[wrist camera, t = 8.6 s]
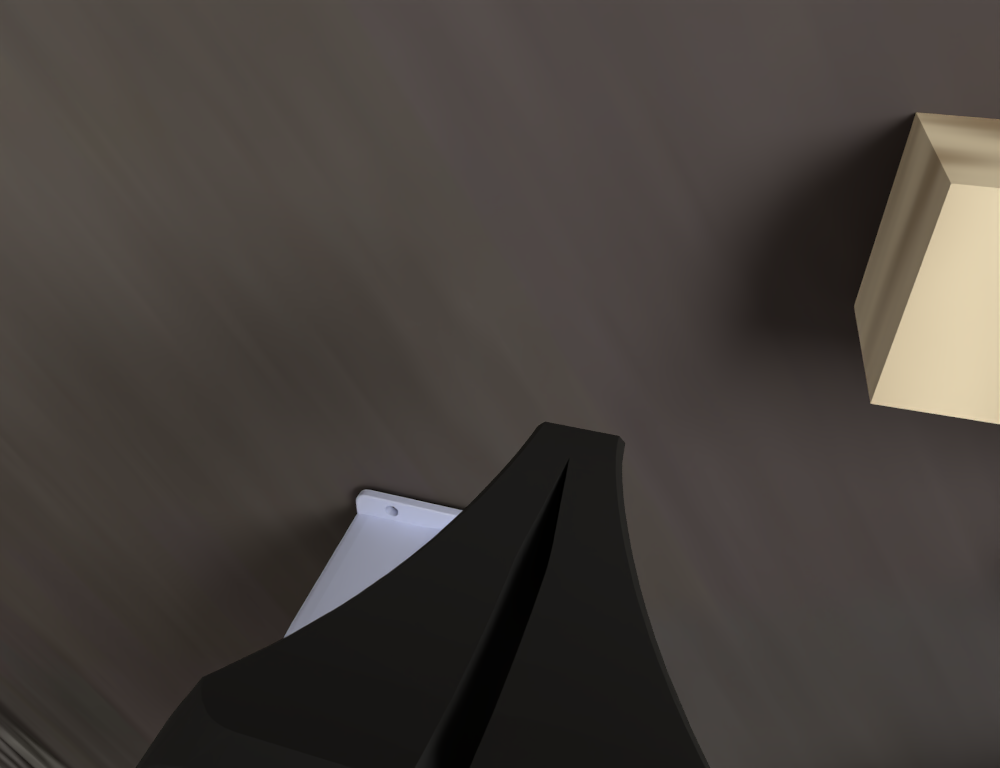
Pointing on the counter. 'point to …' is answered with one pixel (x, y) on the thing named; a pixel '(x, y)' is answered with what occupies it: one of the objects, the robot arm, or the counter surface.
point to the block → (937, 275)
